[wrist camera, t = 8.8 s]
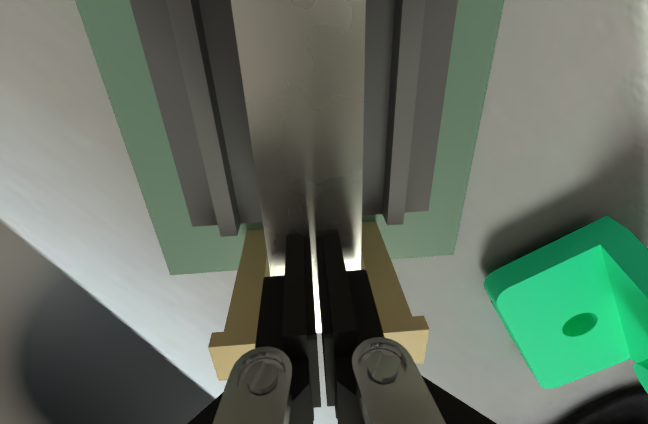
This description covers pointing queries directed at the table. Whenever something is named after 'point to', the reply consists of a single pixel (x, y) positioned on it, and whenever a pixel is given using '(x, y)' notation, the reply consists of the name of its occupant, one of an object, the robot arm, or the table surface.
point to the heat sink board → (229, 248)
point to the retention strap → (305, 120)
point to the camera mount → (577, 303)
